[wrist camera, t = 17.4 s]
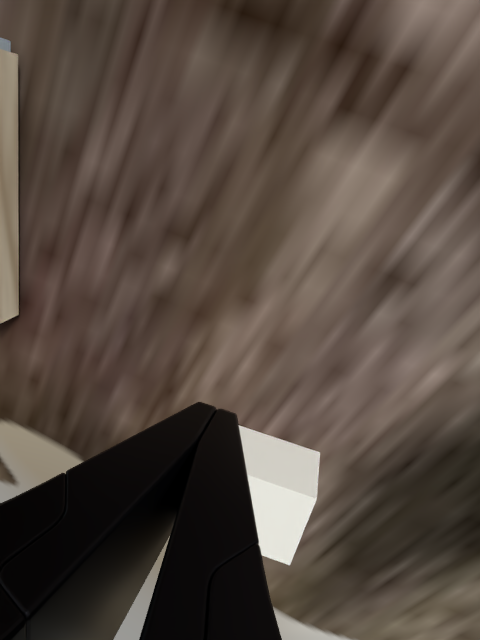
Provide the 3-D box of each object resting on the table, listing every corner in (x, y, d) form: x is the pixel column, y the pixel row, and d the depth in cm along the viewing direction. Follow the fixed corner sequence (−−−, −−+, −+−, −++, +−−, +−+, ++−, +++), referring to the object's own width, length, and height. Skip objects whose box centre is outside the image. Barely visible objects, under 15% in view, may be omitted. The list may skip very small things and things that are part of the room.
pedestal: (320, 452, 23) (316, 498, 20) (296, 514, 25) (289, 565, 22) (236, 424, 24) (220, 465, 21) (219, 487, 26) (202, 532, 23)
